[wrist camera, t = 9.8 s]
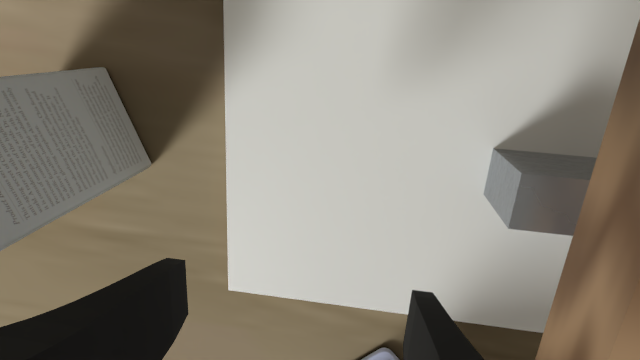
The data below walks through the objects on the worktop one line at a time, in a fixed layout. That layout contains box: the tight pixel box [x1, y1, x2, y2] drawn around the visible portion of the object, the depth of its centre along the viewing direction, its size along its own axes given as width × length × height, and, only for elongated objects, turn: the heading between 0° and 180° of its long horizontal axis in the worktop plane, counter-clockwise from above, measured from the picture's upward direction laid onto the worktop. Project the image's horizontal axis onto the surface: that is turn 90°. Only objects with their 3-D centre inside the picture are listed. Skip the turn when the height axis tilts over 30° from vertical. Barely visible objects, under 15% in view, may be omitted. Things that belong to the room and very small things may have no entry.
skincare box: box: [0, 67, 151, 251], centre depth 17 cm, size 6×4×12 cm
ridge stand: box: [223, 0, 640, 333], centre depth 18 cm, size 24×18×5 cm
